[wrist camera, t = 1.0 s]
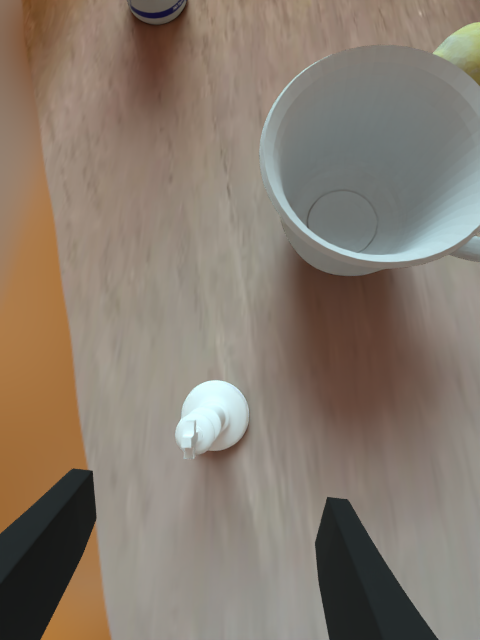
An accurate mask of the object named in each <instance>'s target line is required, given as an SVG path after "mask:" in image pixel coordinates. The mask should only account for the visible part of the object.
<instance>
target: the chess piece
mask: <svg viewBox="0 0 480 640" xmlns="http://www.w3.org/2000/svg"><path fill="white" fill-rule="evenodd" d="M248 423H249V408H248V404H247V402H246V399H245V397H244V396H243V394H242V393H241V392H240V391H239V390H238V389H237V388H236V387H235V386H233V385H231V384H229V383H227V382H224V381H208V382H205V383H202V384H200V385H198V386H197V387H195V388H194V389H193V390H192V391H191V392H190V393H189V395H188V396H187V398H186V400H185V402H184V404H183V407H182V413H181V420H180V422H179V423H178V425H177V427H176V431H175V438H176V442H177V444H178V446H179V448H180V449H181V450H182V451H184V459H194V458H195V455H200V454H203V453H205V452H206V451H207V450H210V451H219V450H224V449H227V448H229V447H231V446H232V445H234V444H235V443H237V442H238V441H239V440H240V439H241V438H242V436H243V435H244V433H245V431H246V429H247V426H248Z"/></svg>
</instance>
